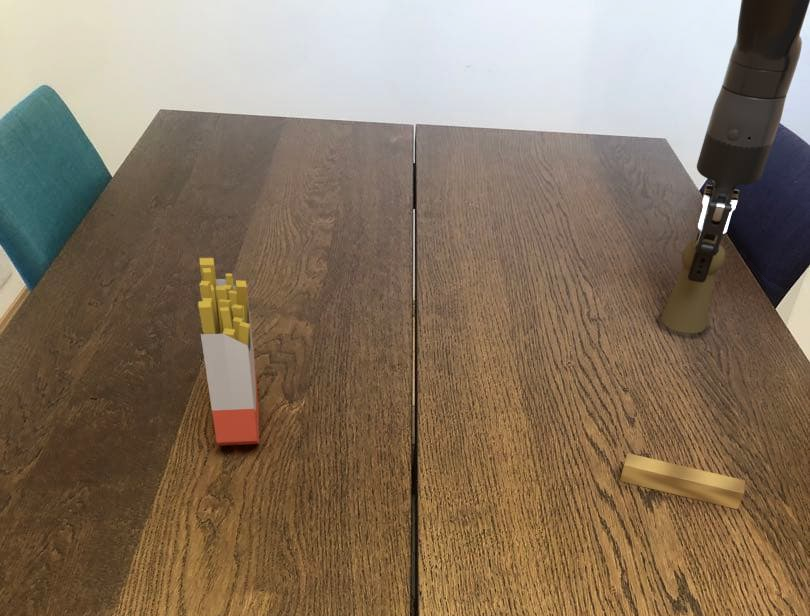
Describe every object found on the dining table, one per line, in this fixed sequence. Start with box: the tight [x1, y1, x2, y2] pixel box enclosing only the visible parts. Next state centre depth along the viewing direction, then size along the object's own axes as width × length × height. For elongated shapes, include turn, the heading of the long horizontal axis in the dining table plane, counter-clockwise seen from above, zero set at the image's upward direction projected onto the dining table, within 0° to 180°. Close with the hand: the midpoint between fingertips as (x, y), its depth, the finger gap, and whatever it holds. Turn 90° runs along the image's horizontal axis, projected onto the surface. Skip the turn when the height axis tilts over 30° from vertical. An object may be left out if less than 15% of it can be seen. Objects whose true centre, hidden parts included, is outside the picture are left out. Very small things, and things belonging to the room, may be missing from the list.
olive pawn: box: [660, 238, 726, 334], centre depth 107 cm, size 6×6×11 cm
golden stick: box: [619, 452, 746, 510], centre depth 84 cm, size 12×2×2 cm, turn 71°
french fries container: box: [197, 257, 260, 447], centre depth 83 cm, size 5×11×18 cm, turn 8°
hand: (698, 266), depth 105 cm, fingers open, 8 cm apart
